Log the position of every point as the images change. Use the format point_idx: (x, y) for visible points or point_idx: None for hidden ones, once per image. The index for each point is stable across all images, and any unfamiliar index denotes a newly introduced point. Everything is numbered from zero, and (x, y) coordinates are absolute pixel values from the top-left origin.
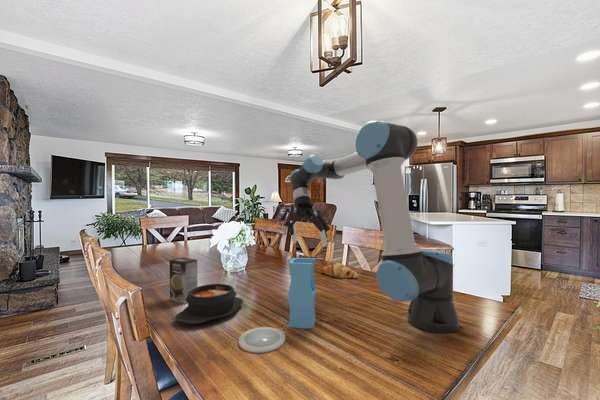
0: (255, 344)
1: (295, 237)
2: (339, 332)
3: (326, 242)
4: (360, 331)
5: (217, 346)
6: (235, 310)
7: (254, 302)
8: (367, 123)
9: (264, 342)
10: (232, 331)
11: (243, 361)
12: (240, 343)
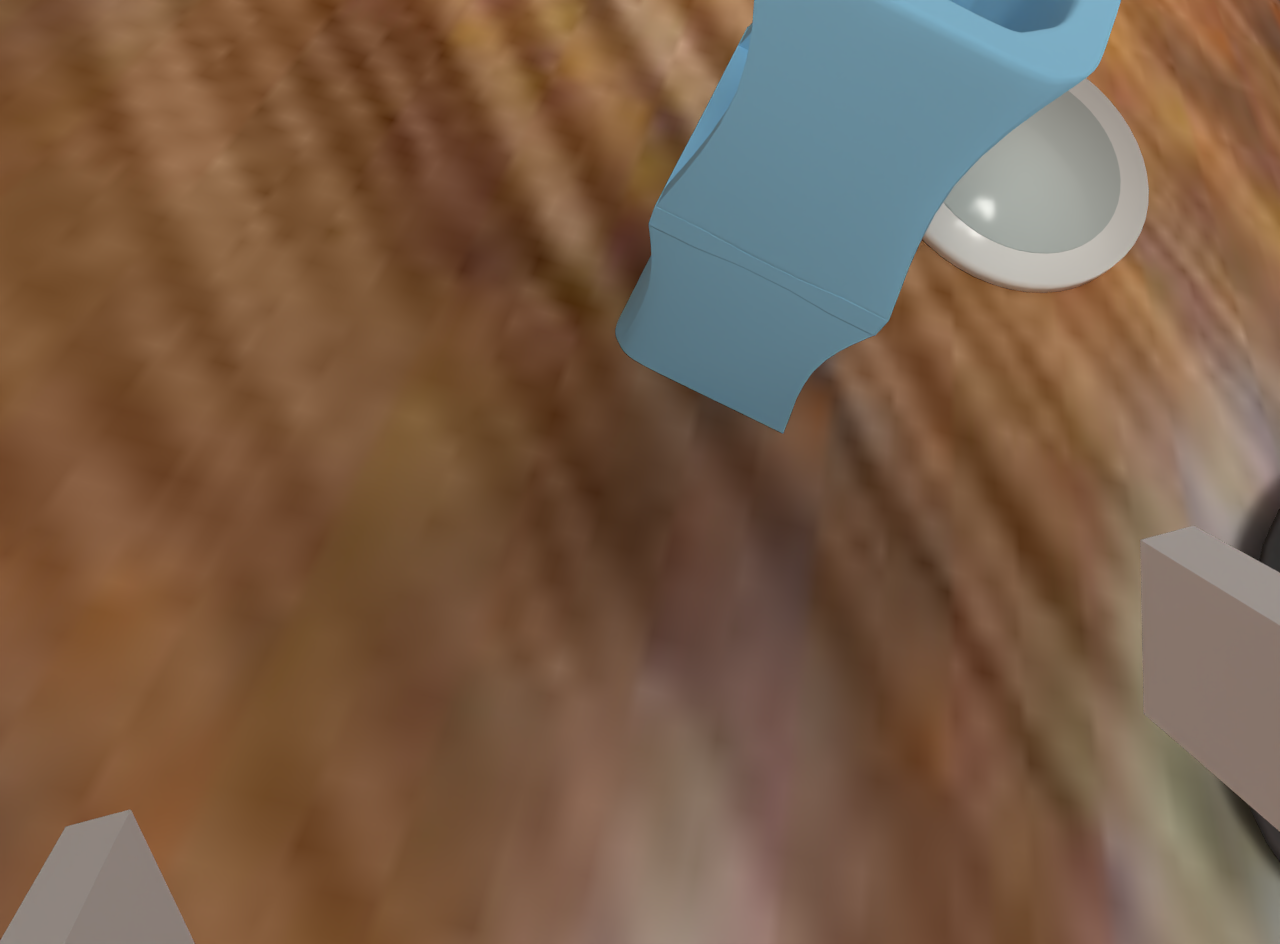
0: None
1: (1266, 569)
2: (512, 99)
3: (82, 858)
4: (359, 63)
5: (1236, 187)
6: (1265, 557)
7: (1121, 866)
8: None
9: None
10: (1197, 329)
11: None
12: (1130, 135)
